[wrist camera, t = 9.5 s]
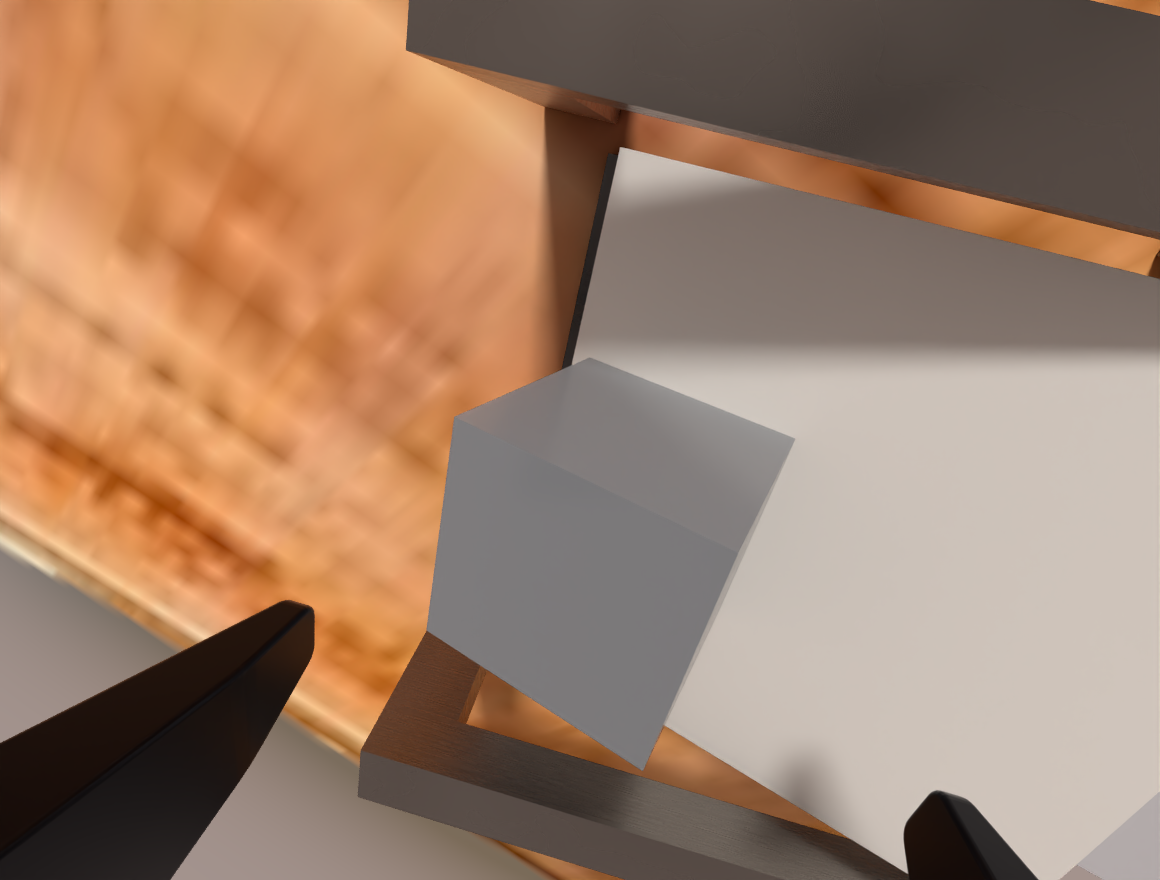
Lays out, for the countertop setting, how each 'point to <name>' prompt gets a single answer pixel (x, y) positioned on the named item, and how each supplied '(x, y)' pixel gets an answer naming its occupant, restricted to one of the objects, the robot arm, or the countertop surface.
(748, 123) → the frame
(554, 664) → the grey matte cube
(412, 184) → the countertop surface
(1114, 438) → the trapdoor
